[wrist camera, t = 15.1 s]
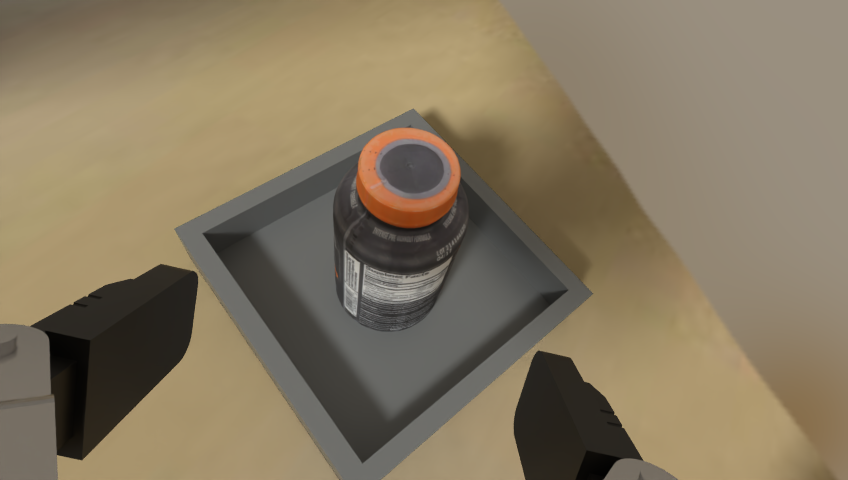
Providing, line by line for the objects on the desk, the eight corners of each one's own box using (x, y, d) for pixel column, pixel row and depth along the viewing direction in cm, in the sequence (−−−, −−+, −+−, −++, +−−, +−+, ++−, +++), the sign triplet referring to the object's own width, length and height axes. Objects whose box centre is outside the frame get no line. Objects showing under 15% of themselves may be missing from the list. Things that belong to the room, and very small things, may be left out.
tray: (191, 259, 29) (173, 228, 25) (406, 143, 35) (413, 108, 32) (354, 502, 24) (357, 500, 21) (567, 315, 30) (593, 293, 27)
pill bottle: (368, 223, 30) (382, 83, 21) (454, 268, 30) (510, 146, 20) (314, 302, 27) (300, 182, 18) (408, 354, 27) (448, 259, 17)
